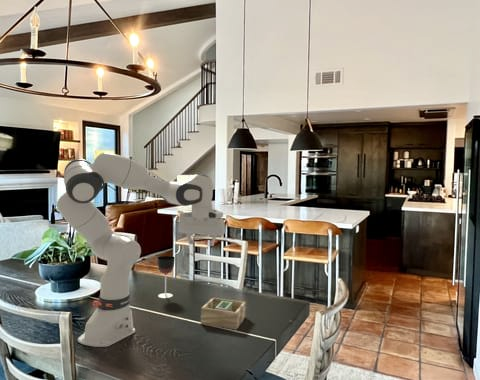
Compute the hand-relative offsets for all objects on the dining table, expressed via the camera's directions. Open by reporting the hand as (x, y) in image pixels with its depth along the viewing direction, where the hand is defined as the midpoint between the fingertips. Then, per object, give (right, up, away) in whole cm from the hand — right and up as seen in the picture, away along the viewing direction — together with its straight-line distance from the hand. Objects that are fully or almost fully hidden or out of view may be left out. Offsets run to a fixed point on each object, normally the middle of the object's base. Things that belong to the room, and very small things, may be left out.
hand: (201, 244), depth 159 cm
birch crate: (+9, -34, +5) cm, 36 cm away
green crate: (+9, -33, +5) cm, 35 cm away
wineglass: (-22, -32, +35) cm, 53 cm away
